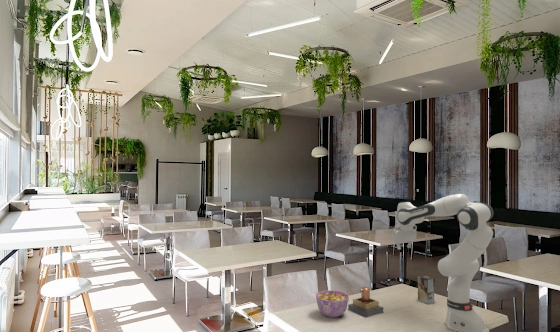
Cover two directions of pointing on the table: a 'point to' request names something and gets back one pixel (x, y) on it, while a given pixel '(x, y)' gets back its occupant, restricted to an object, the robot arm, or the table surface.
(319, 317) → the table surface
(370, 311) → the grey square holder
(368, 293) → the spout can
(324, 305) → the bowl of food
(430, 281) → the coffee box
